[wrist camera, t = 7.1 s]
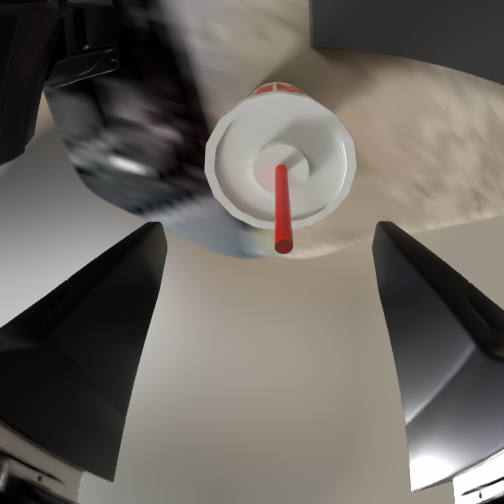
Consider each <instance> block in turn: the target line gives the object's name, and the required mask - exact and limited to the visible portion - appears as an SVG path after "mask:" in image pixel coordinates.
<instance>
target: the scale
mask: <svg viewBox="0 0 504 504" xmlns="http://www.w3.org/2000/svg"><path fill="white" fill-rule="evenodd" d="M309 12H310V46H311V47H320V48H335V49H346V50H356V51H365V52H372V53H379V54H386V55H392V56H398V57H403V58H409V59H414V60H418V61H423V62H428V63H432V64H436V65H440V66H444V67H448V68H452V69H455V70H459V71H462V72H466V73H469V74H472V75H475V76H478V77H481V78H484V79H487V80H490V81H493V82H496V83H499V84H501V85H504V0H309Z"/></svg>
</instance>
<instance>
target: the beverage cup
mask: <svg viewBox="0 0 504 504" xmlns="http://www.w3.org/2000/svg"><path fill="white" fill-rule="evenodd" d="M356 169H357V165H356V158H355V151H354V144H353V140H352V138H351V136H350V135H349V133H348V132H347V130H346V129H345V127H344V125H343V124H342V122H341V121H340V119H339V118H338V116H337V115H336V114H335V113H334V112H333V111H332V110H330V109H329V108H327V107H326V106H324V105H322V104H321V103H319V102H318V101H316V100H315V99H313V98H311V97H310V96H308V95H306V94H305V93H304V92H303V91H302V90H300V89H298V88H297V87H295V86H293V85H292V84H289V83H283V82H271V83H267V84H263V85H261V86H260V87H258V88H257V89H255V90H254V91H253V92H251V93H250V94H249V96H248V97H246V98H245V99H244V100H242V101H241V102H240V103H238V104H237V105H236V106H234V107H233V108H232V109H230V110H229V111H228V112H226V113H225V114H224V115H223V116H222V117H221V118H220V120H219V122H218V124H217V125H216V127H215V129H214V131H213V133H212V135H211V136H210V138H209V140H208V142H207V144H206V156H205V174H206V177H207V179H208V182H209V185H210V187H211V190H212V192H213V195H214V197H215V198H216V199H217V200H218V201H219V202H220V203H221V204H222V205H223V206H224V207H225V208H226V210H227V211H228V212H229V213H230V214H231V215H232V216H234V217H236V218H238V219H240V220H242V221H244V222H246V223H248V224H250V225H252V226H254V227H256V228H263V229H270V230H275V250H276V251H277V252H278V253H281V254H287V253H289V252H291V250H292V249H293V239H292V229H298V228H303V227H309V226H311V225H313V224H314V223H316V222H318V221H320V220H322V219H323V218H325V217H327V216H329V215H330V214H332V213H333V212H334V211H335V210H336V208H337V207H338V206H339V205H340V204H341V202H342V201H343V200H344V199H345V198H346V196H347V195H348V194H349V192H350V189H351V186H352V182H353V179H354V176H355V172H356Z"/></svg>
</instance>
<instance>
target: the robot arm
mask: <svg viewBox="0 0 504 504" xmlns="http://www.w3.org/2000/svg"><path fill="white" fill-rule="evenodd" d="M67 1H68V0H0V166H2V165H4V164H6V163H8V162H11V161H13V160H14V159H15V158H17V157H18V156H20V155H21V154H23V153H24V151H25V146H26V145H27V144H28V143H29V141H30V140H31V139H32V137H33V136H34V132H35V125H36V120H37V114H38V109H39V104H40V99H41V95H42V90H43V88H45V87H48V86H49V87H50V88H51V89H54V88H57V87H60V86H63V85H66V84H69V83H72V82H75V81H78V80H82V79H85V78H88V77H92V76H95V75H99V74H103V73H106V72H110V71H114V70H117V69H119V68H120V67H121V65H122V57H121V49H120V42H121V40H122V37H121V28H120V17H119V9H118V8H117V7H116V0H72V1H69V2H67ZM114 60H115V61H116V66H113V61H114ZM372 252H373V258H374V264H375V269H376V276H377V283H378V290H379V295H380V299H381V303H382V307H383V311H384V315H385V319H386V324H387V328H388V332H389V337H390V341H391V346H392V351H393V355H394V361H395V366H396V371H397V376H398V381H399V387H400V393H401V399H402V406H403V412H404V419H405V424H406V425H405V428H406V435H407V444H408V454H409V464H410V476H411V489H412V492H416V491H419V490H423V489H427V488H431V487H434V486H438V485H441V484H444V483H448V482H451V481H453V483H454V491H455V503H456V504H504V310H503V309H502V308H500V307H499V306H498V305H497V304H495V303H494V302H493V301H491V300H490V299H489V298H488V297H487V296H485V295H484V294H483V293H482V292H481V291H480V290H478V289H477V288H476V287H475V286H474V285H473V284H471V283H469V281H468V280H467V279H465V278H464V277H463V276H462V275H461V274H459V273H458V272H457V271H456V270H454V269H453V268H452V267H451V266H449V265H448V264H447V263H446V262H444V261H443V260H442V259H441V258H439V257H438V256H437V255H436V254H434V253H433V252H432V251H430V250H429V249H428V248H426V247H425V246H424V245H422V244H421V243H420V242H418V241H417V240H416V239H414V238H413V237H412V236H410V235H409V234H408V233H406V232H405V231H403V230H402V229H401V228H399V227H398V226H396V225H395V224H394V223H392V222H390V221H379V222H378V223H377V226H376V230H375V235H374V240H373V245H372ZM166 254H167V241H166V237H165V234H164V229H163V226H162V224H161V223H160V222H147V223H146V224H144V225H143V226H141V227H140V228H138V229H137V230H135V231H134V232H132V233H131V234H130V235H128V236H127V237H125V238H124V239H122V240H121V241H119V242H118V243H116V244H115V245H114V246H112V247H111V248H109V249H108V250H106V251H105V252H104V253H102V254H101V255H100V256H98V257H97V258H95V259H94V260H92V261H91V262H90V263H89V264H87V265H86V266H84V267H83V268H82V269H80V270H79V271H78V272H76V273H75V274H74V275H72V276H71V277H70V278H68V281H67V280H65V281H64V282H63V283H62V284H60V285H59V286H58V287H56V288H55V289H54V290H52V291H51V292H50V293H48V294H47V295H46V296H44V297H43V298H42V299H40V300H39V301H38V302H36V303H35V304H33V305H32V306H31V307H29V308H28V309H26V310H25V311H23V312H22V313H20V314H19V315H18V316H16V317H15V318H14V319H12V320H11V321H9V322H8V323H7V324H5V325H4V326H2V327H1V328H0V504H79V503H77V501H78V496H79V492H80V487H81V483H82V478H83V475H84V473H86V474H88V475H91V476H94V477H97V478H100V479H103V480H106V481H109V482H113V481H114V477H115V471H116V466H117V460H118V455H119V450H120V445H121V439H122V434H123V430H124V425H125V421H126V418H125V417H126V415H127V411H128V407H129V402H130V398H131V394H132V389H133V385H134V381H135V377H136V373H137V369H138V365H139V362H140V357H141V354H142V350H143V347H144V343H145V339H146V336H147V332H148V329H149V325H150V322H151V318H152V315H153V311H154V308H155V305H156V301H157V298H158V294H159V290H160V286H161V280H162V275H163V270H164V264H165V260H166Z"/></svg>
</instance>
